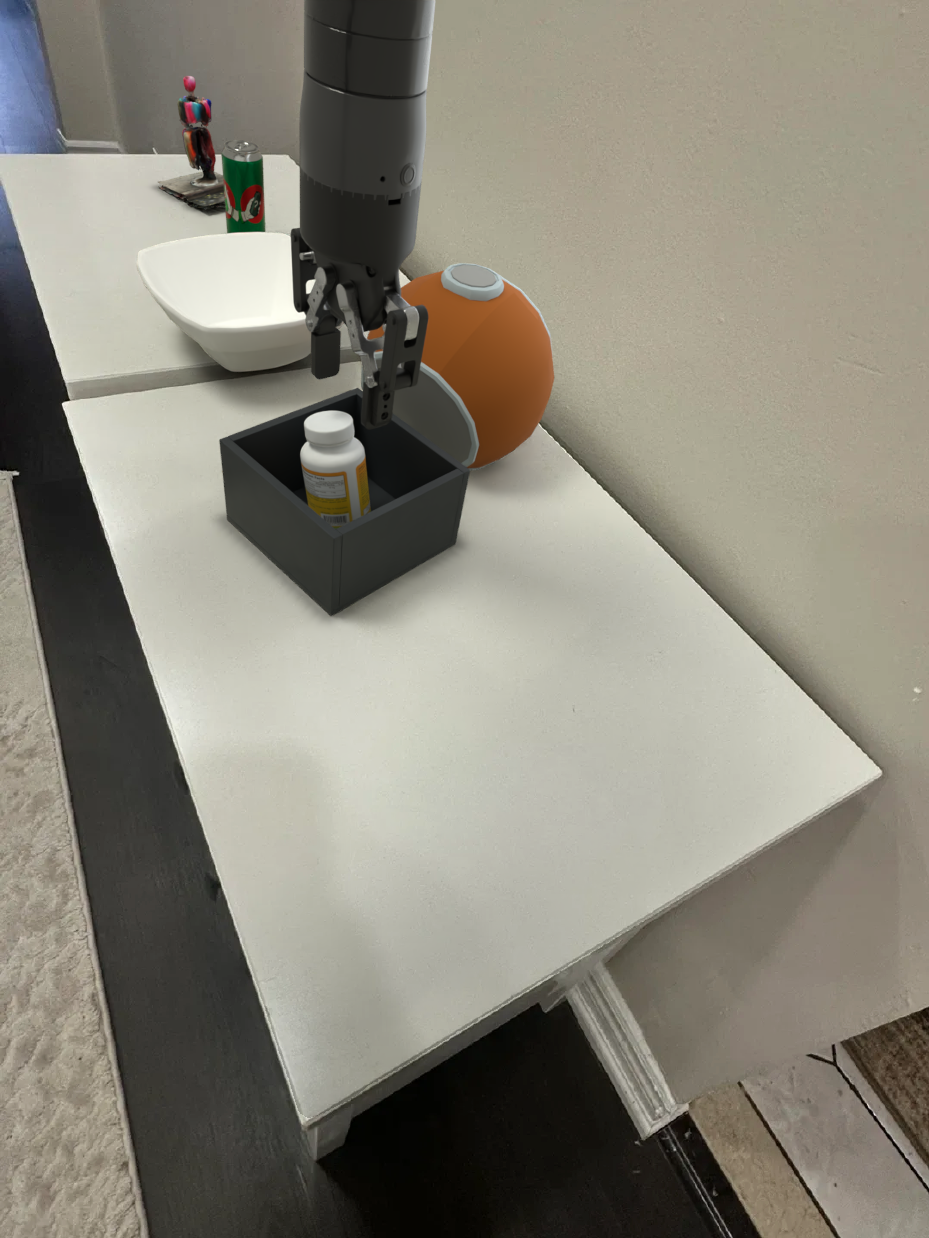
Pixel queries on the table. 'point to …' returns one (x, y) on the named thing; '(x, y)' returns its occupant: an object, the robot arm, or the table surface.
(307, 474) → the supplement bottle
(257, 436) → the bin
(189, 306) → the bowl
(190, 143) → the statue
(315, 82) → the robot arm
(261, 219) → the soda can
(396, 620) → the table surface
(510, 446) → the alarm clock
